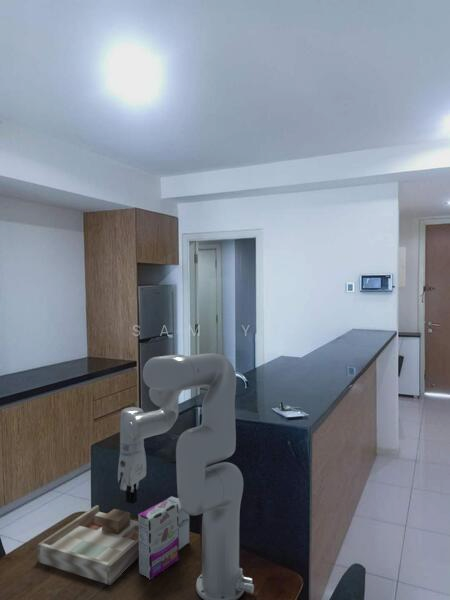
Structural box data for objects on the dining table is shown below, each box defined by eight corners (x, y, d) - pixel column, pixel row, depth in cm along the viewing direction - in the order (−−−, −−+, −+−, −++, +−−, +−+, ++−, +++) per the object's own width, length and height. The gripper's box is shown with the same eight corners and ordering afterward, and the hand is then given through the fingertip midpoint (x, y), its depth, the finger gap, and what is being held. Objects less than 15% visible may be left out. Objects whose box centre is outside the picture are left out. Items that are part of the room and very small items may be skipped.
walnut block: (130, 525, 139) (130, 512, 139) (118, 534, 133) (118, 521, 133) (114, 521, 141) (114, 508, 141) (101, 530, 136) (101, 517, 136)
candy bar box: (166, 554, 129) (166, 498, 128) (179, 560, 126) (179, 503, 125) (137, 573, 120) (137, 513, 119) (150, 581, 117) (150, 519, 116)
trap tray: (161, 536, 138) (161, 520, 138) (110, 585, 115) (110, 565, 115) (96, 520, 148) (96, 505, 148) (37, 561, 125) (37, 544, 125)
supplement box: (174, 554, 128) (174, 511, 128) (155, 546, 133) (155, 504, 132) (190, 542, 135) (190, 501, 134) (171, 535, 139) (171, 495, 138)
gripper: (127, 456, 137) (127, 515, 137) (154, 441, 150) (153, 494, 151) (107, 452, 140) (107, 509, 140) (135, 437, 153) (135, 490, 154)
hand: (131, 501), depth 146 cm, fingers closed
